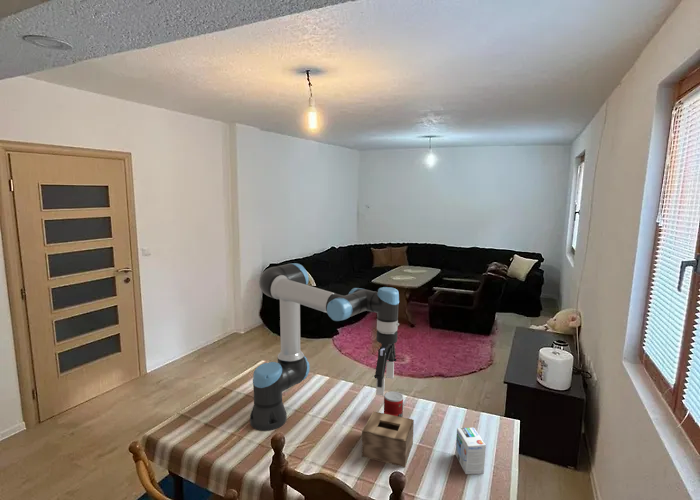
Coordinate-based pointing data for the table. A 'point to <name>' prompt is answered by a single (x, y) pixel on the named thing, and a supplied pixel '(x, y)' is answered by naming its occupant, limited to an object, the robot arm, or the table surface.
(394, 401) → the canned food
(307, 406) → the table surface
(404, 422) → the brown block with hole
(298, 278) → the robot arm
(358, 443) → the table surface
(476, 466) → the light bulb box
